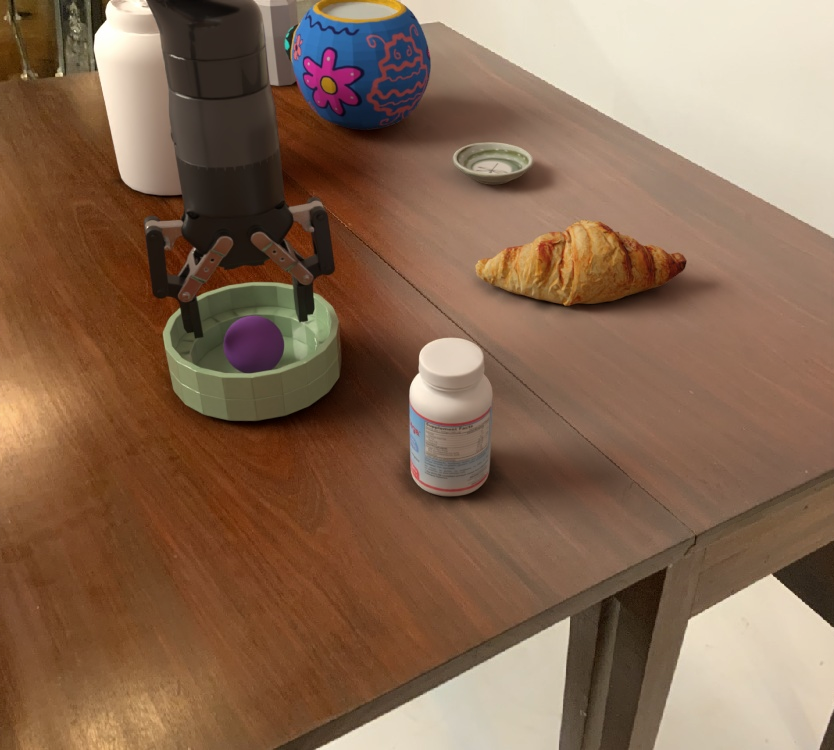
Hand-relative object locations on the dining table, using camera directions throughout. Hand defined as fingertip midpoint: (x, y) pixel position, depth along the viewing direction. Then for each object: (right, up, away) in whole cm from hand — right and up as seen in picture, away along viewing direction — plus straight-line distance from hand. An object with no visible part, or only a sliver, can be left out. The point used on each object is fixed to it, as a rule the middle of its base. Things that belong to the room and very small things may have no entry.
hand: (251, 325), depth 81 cm
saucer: (+20, +20, +37) cm, 46 cm away
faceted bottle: (-11, +38, +59) cm, 72 cm away
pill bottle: (+17, -12, -6) cm, 22 cm away
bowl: (0, -4, +3) cm, 5 cm away
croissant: (+29, +5, +17) cm, 34 cm away
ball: (0, -2, +1) cm, 2 cm away
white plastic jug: (-17, +19, +34) cm, 42 cm away
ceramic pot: (+3, +29, +48) cm, 57 cm away
